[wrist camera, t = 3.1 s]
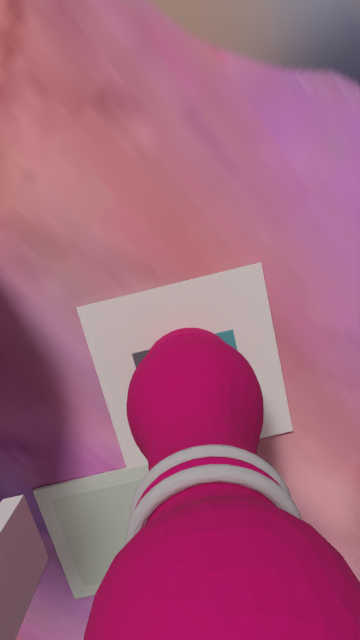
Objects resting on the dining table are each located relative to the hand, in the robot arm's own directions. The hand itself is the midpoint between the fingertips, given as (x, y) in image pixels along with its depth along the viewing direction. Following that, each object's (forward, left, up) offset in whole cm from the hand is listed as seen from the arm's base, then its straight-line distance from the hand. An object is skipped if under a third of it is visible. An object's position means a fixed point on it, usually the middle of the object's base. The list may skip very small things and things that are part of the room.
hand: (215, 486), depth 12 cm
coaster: (-8, -11, -11) cm, 18 cm away
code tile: (0, 0, -11) cm, 11 cm away
